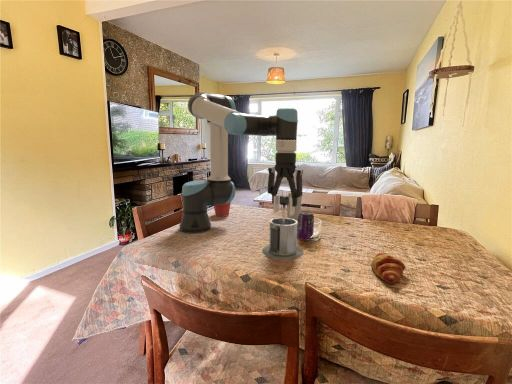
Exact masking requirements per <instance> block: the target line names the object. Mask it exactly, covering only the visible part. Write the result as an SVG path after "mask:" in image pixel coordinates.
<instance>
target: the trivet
mask: <svg viewBox="0 0 512 384" xmlns="http://www.w3.org/2000/svg"><path fill="white" fill-rule="evenodd" d="M296 249H297V253H296V254H295V255H293V256H288V257H281V256H275V255H273V254H271V253H270V252H269V245H266V246H263V248H262V250H261V251H262V254H263V255H264V256H266V257H268V258H271V259H274V260H280V261H281V260H282V261H283V260H284V261H286V260H287V261H288V260H290V261H291V260H295V259H299V258H300V257H302V256H303V255H304V251H303V250H304V249H301V248H300V247H298V246H297V248H296Z"/></svg>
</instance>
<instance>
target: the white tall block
mask: <svg viewBox="0 0 512 384" xmlns="http://www.w3.org/2000/svg"><path fill="white" fill-rule="evenodd" d="M287 196H289V204H288V205H286V207H287V208H286V209H287V212H286V218H290V219H294V220H296V221H297V223H298V215H299V212H301V211H302V198H303V195H302V196H300V197H298V198H297V206H296V207H295V214H294V215H292V216H290V215H289V214H290V198H291V197H292V195H291V191H290V192H288V194H287ZM297 226H298V224H297Z"/></svg>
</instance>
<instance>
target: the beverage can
mask: <svg viewBox="0 0 512 384" xmlns="http://www.w3.org/2000/svg"><path fill="white" fill-rule="evenodd" d="M314 225H315V216H314V212H312V211H309V210H301V212H299V215H298V227H297V239H300V240H304V241H305V240H312V239H311V238H310V237H311V236H312V235H313V236H314Z"/></svg>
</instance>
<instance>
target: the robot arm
mask: <svg viewBox="0 0 512 384" xmlns="http://www.w3.org/2000/svg"><path fill="white" fill-rule="evenodd" d="M234 101H235V100H233V98H232V97H230V96H229V95H228V96H227V95H224V94H217V93H207V92H196V93H195V94H193V95H191V97H189V99H188V102H187V110H188V112H189V113H190V114H191V116H192V117H194V118H197V119H199V120H204V119H205V120H206V124H207V125H208V126H209V128H210V129H209V130H210V135H209V136H210V137H209V138H210V139H209V141H210V145H209V146H210V149H209V150H210V175H209V177H208V178H207V181H206V180H202V179H200V180H198V179H197V180H192V181H191V180H190V181H188V182H185V183H184V184H183V185H182V186H181V187H182V189H181V198H182V215H181V221H180V223H179V232H182V233H187V234H199V233H205V232H208V231H210V230H211V229H212V223H211V221H210V218H209V215H208V207H211V206H213V207H214V205H220V204H222V205H223V204H226V203H230V202H231V203H232V201H234V198H235V196H236V186H235V183H234V182H233V181H231V180H232V179H231V177H230V175H229V173H228V172H229V171H228V170H229V167H228V166H229V159H228V158H229V147H228V146H229V145H228V144H229V135H234V136H259V137H271V136H272V137H273V136H274V137H276V138H275V151H276V153H275V158H274V159H275V160H274V161H275V165H274V166H272V167H268V169H267V171H268V182H267V194H270V195H271V204H273V208H272V209H273V211H272V212H273V213H275V214H276V213H278V212H279V211H280V210H279V209H280V204H279V201H280V194H279V189H280V187H281V184H282V180H283V178H284V179H286V180H287V182H288V186H289V189H290V193H291V195H292V197H291V198H290V214H289V215H290V216H292V215H294V214H295V207H296V206H297V198H298V197H300V196H302V197H303V175H304V170H303V169H299V168H297V166H296V162H297V153H296V151H297V140H298V139H297V136H298V135H297V134H298V122H299V119H298V117H299V116H298V111H297V109H296V108H291V107H281V108H278V109H277V110H276V114H274V115H262V114H249V113H243V112H240V111H238V110H237V108H236V104H235V102H234ZM276 173H277V174H276ZM294 174H295V176H294ZM231 203H230V204H231Z"/></svg>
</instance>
